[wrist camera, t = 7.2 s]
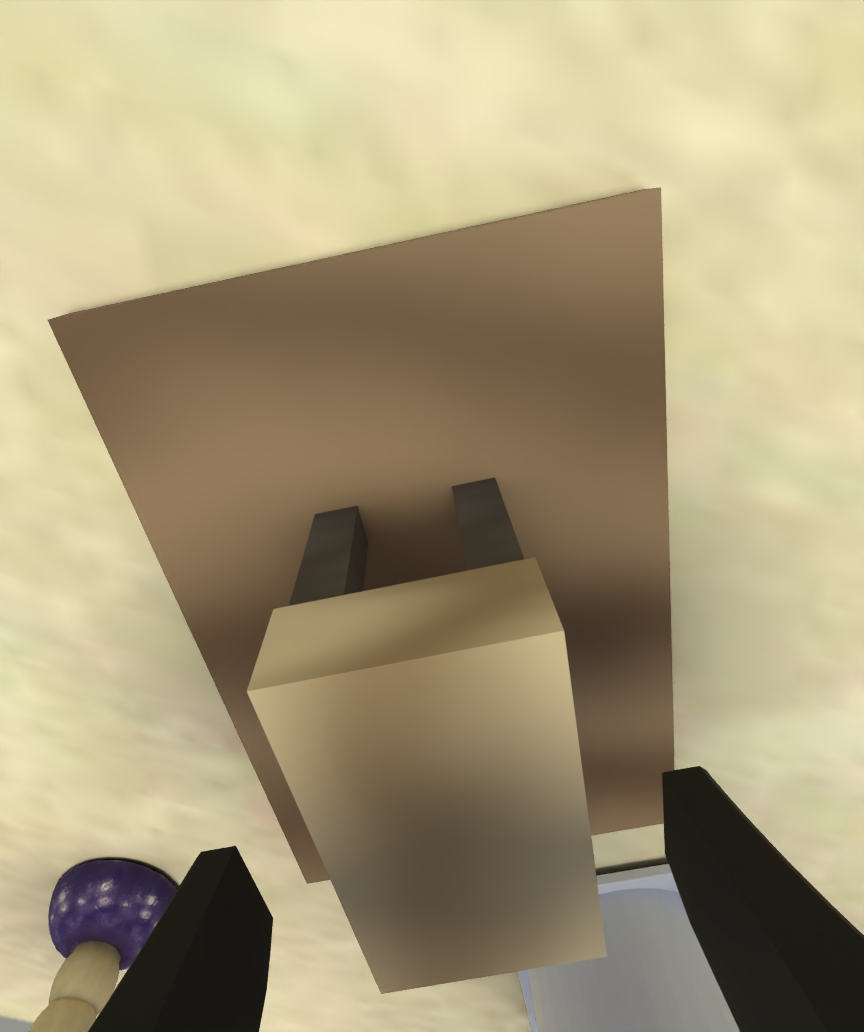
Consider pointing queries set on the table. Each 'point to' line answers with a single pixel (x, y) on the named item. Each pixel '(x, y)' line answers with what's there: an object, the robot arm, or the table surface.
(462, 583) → the oak stool
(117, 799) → the table surface
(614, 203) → the walnut board
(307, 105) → the table surface
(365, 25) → the table surface
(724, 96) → the table surface
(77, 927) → the toy lamp
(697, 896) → the robot arm
